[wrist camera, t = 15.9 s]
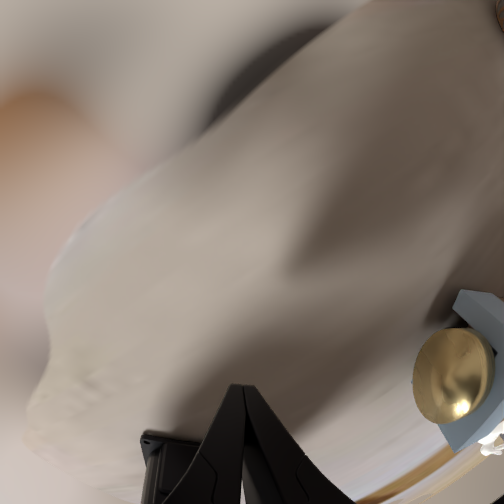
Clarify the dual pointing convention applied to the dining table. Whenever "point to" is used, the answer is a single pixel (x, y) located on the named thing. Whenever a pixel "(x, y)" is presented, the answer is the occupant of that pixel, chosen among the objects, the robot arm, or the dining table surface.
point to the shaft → (453, 374)
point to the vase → (500, 12)
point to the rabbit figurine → (492, 441)
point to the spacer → (500, 397)
